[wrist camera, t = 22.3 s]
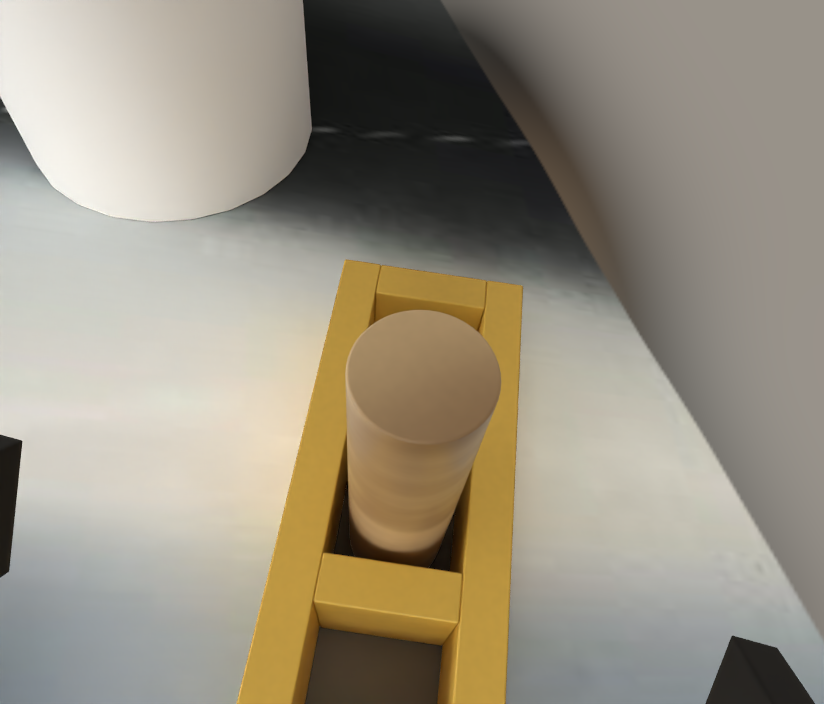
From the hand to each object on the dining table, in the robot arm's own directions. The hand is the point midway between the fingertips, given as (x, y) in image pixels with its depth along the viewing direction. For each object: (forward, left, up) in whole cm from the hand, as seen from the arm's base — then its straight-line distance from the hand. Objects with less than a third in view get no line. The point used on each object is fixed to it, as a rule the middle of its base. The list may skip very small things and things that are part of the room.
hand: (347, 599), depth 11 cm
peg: (-4, +5, -16) cm, 17 cm away
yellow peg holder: (-4, +5, -16) cm, 17 cm away
